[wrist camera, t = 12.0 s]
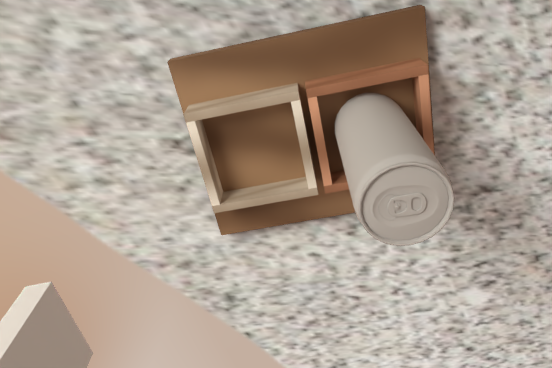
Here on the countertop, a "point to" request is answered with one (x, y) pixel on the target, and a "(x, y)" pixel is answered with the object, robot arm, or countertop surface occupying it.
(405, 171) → the beverage can
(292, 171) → the socket board
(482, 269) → the countertop surface
